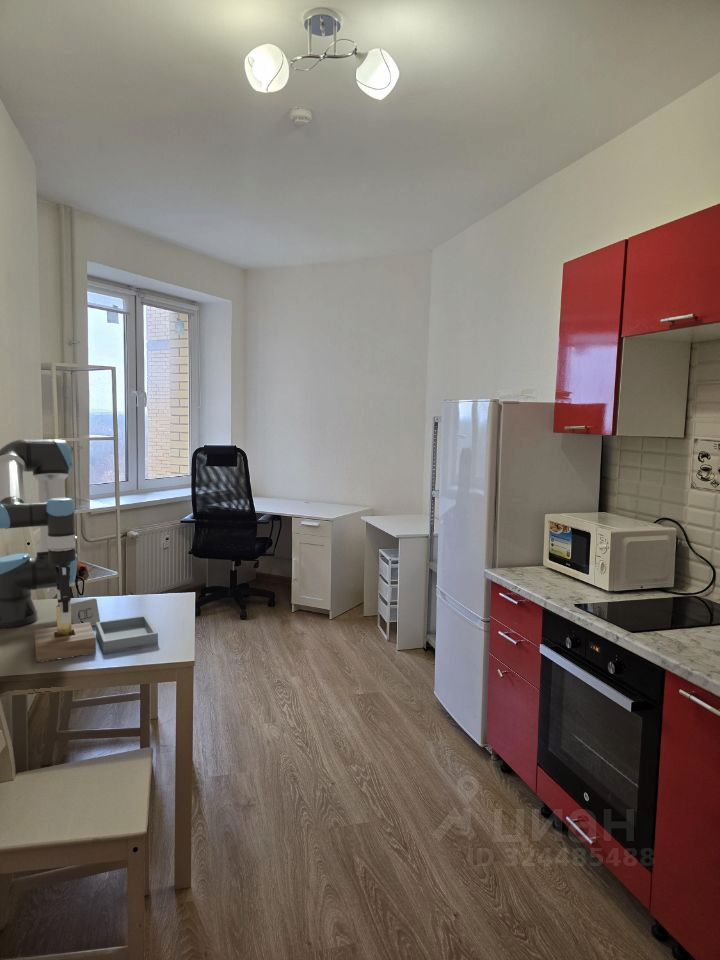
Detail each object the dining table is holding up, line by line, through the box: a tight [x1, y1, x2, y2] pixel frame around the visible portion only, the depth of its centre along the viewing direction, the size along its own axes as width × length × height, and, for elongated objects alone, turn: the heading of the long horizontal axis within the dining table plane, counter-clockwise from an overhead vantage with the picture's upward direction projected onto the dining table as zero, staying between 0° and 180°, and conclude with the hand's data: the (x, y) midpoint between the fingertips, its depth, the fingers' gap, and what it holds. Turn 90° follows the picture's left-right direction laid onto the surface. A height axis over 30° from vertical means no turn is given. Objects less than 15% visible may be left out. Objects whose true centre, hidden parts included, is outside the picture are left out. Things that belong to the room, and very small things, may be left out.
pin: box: [56, 603, 72, 637], centre depth 185 cm, size 4×4×14 cm
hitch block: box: [34, 622, 97, 663], centre depth 185 cm, size 16×16×5 cm
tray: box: [95, 614, 159, 655], centre depth 194 cm, size 20×16×4 cm
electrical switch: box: [70, 598, 101, 627], centre depth 206 cm, size 9×5×9 cm, turn 141°
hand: (64, 616), depth 184 cm, fingers open, 13 cm apart
